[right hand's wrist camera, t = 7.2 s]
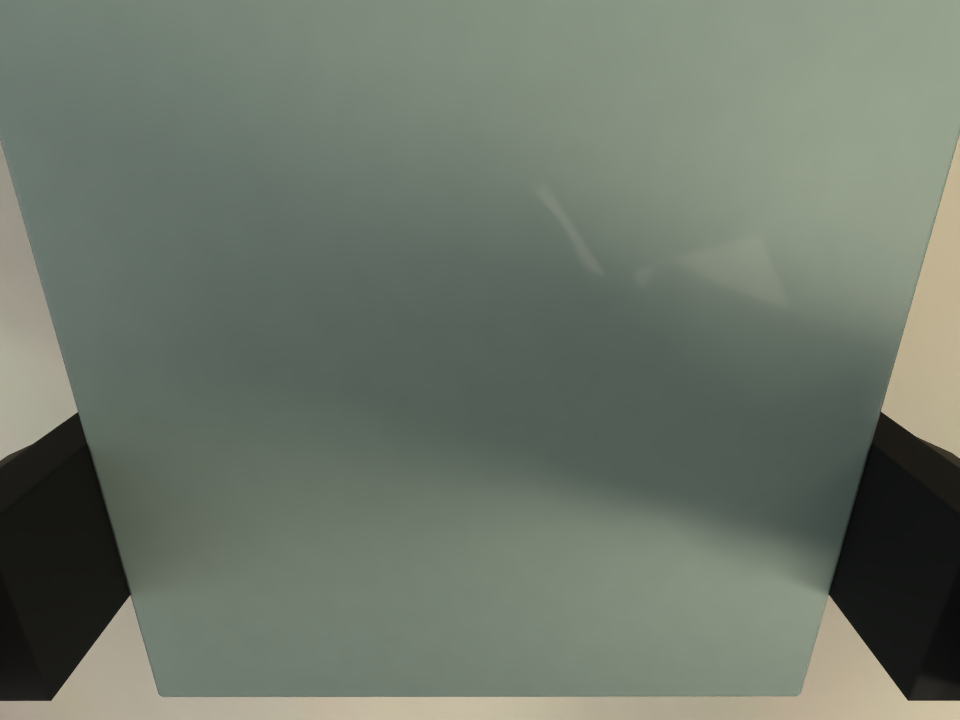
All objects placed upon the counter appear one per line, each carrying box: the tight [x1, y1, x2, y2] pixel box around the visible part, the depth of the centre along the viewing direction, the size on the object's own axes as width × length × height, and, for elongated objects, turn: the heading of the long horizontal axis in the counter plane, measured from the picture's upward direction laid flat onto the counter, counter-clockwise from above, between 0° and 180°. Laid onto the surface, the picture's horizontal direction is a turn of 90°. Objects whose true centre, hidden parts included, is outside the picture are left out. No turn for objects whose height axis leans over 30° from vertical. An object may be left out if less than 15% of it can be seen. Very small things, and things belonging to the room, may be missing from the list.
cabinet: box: [0, 0, 960, 697], centre depth 11 cm, size 20×11×9 cm, turn 0°
